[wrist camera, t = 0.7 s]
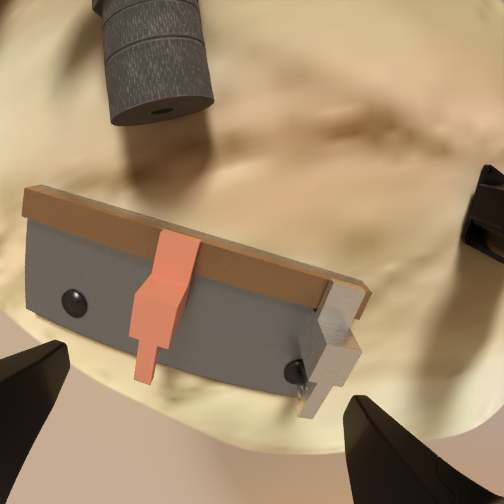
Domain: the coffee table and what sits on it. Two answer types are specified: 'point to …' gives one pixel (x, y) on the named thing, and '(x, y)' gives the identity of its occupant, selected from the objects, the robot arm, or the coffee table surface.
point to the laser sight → (153, 60)
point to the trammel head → (162, 300)
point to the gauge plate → (194, 298)
